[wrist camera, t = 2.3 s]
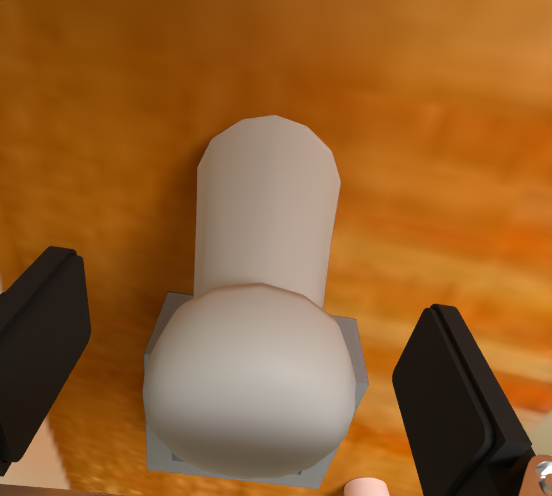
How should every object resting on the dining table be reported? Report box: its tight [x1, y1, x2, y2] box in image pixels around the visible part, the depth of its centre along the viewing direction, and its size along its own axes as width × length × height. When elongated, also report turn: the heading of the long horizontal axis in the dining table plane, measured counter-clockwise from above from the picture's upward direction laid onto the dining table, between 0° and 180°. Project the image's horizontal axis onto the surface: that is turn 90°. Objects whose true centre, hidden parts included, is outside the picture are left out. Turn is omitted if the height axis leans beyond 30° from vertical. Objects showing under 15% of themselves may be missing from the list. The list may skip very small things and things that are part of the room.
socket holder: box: [144, 292, 369, 489], centre depth 24 cm, size 11×11×4 cm
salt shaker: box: [142, 115, 356, 479], centre depth 13 cm, size 6×6×13 cm
